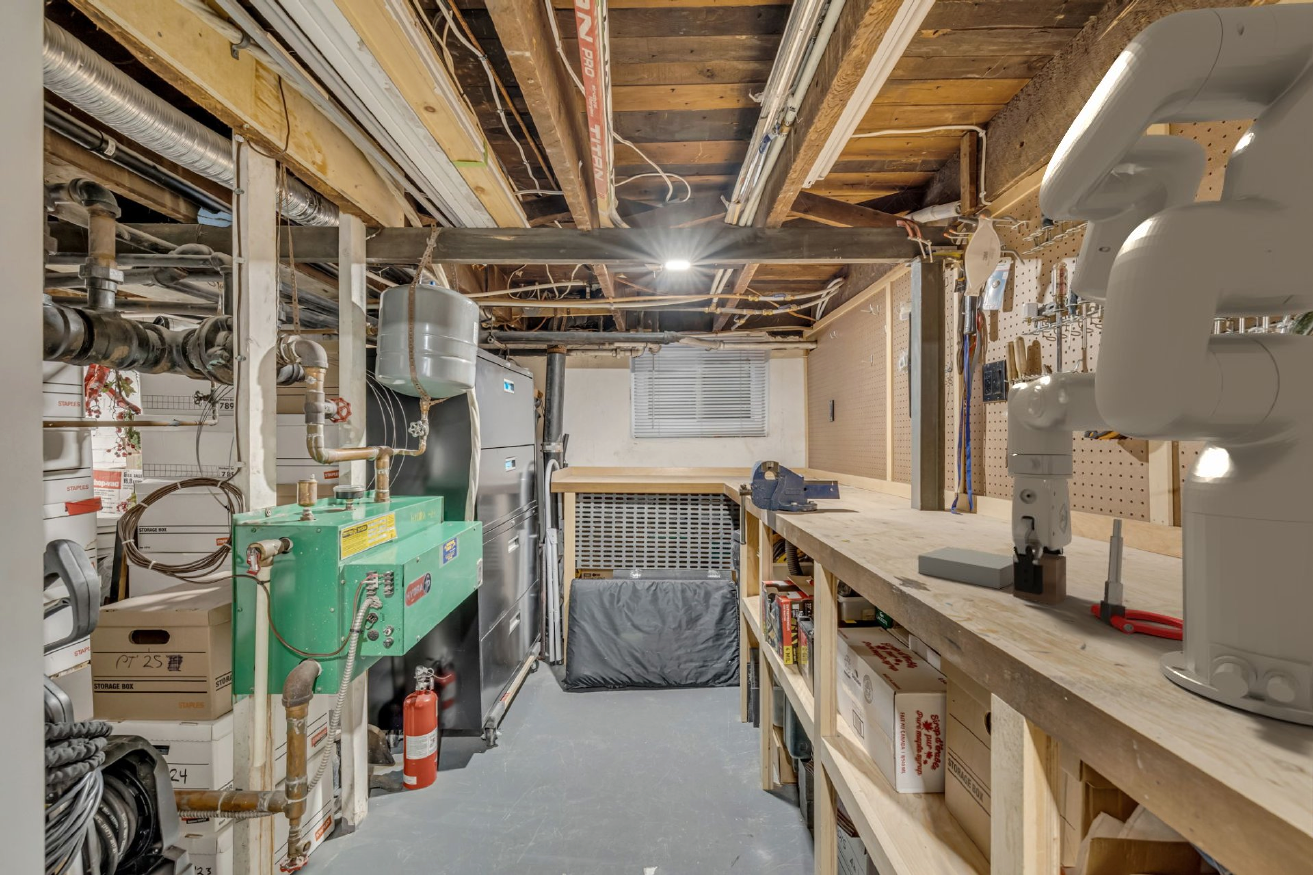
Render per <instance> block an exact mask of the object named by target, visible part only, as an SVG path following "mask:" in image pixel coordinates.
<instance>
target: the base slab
mask: <svg viewBox="0 0 1313 875" xmlns="http://www.w3.org/2000/svg"><path fill="white" fill-rule="evenodd" d="M917 556H918V559H917V560H918V562H917V563H918V569H917V570H918V571H917V572H918V574H922V575H927V576H932V577H938V578H943V579H947V580H953V581H957V582H963V583H968V584H973V585H979V586H982V587H983V586H984V587H988V588H992V587H993V588H994V589H1000V588H1001V589H1003V588H1005V587H1007V586H1008V585H1012V584H1013V583H1012V582H1013V555H1012V556H1011V555H1004V554H999V553H992V552H984V551H978V550H973V549H972V550H971V549H967V548H966V549H965V548H958V547H951V546H947V547H946V546H945V547H942V548H940V549H936V550H931V551H929V552H925V553H921V554H919V555H918V554H917ZM1002 587H1003V588H1002ZM993 588H992V589H993Z"/></svg>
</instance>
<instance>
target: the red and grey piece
mask: <svg viewBox="0 0 1313 875" xmlns="http://www.w3.org/2000/svg"><path fill="white" fill-rule="evenodd" d="M1122 526H1123V520H1122V519H1118V518H1114V519H1113V522H1112V535H1110V536H1109V552H1108V554H1109V555H1108V569H1107V571H1108V572H1107V580H1105V582H1104V590H1103V591H1104V595H1103V600H1102V599H1100V604H1093V605H1091V607H1090V609H1089V610H1090V612H1091V614H1093V615H1094V616H1096V617H1097V618H1100V620H1101V621H1103V622H1104V621H1105V622H1104V623H1107V624H1108V625H1109V626H1112V627H1113V626H1115V627H1114V628H1116V629H1119V630H1120V631H1122V632H1123V633H1125V634H1128V633H1130V635H1132V634H1134V633H1135V632H1139V633H1144V634H1148V635H1152V636H1157V637H1162V638H1167V639H1174V640H1178V641H1179V640H1180V641H1183V619H1180V618H1177V617H1174V616H1168V615H1165V614H1160V613H1156V612H1155V613H1154V612H1151V611H1144V610H1138V609H1129V608H1127V607H1126V606H1125V605H1123V598H1124V597H1123V596H1124V584H1123V583H1122V566H1123V565H1122V564H1123V550H1124V549H1123V547H1124V537H1123V536H1122ZM1131 619H1136V620H1131ZM1138 620H1143V621H1150V622H1154V621H1155V622H1154V623H1160V624H1163V623H1165V624H1164V625H1167V624H1168V625H1167V626H1170V625H1171V627H1174V626H1175V627H1174V628H1167V627H1161V626H1157V625H1152V624H1148V623H1144V622H1141V621H1138ZM1176 627H1177V629H1175V628H1176ZM1179 628H1180V629H1179Z"/></svg>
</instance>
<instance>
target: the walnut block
mask: <svg viewBox="0 0 1313 875" xmlns="http://www.w3.org/2000/svg"><path fill="white" fill-rule="evenodd" d="M1034 552H1035V551H1033V554H1034ZM1012 557H1013V583H1012V597H1015V596H1016V597H1015V598H1020V599H1024V598H1026V599H1025V600H1030V601H1034V600H1036V601H1035V602H1041V603H1044V602H1045V603H1046V604H1050V605H1055V606H1056V605H1059V604H1060V603H1062V602H1063V601H1064V600H1066V599H1067V556H1066V555H1060V556H1059V555H1052V554H1045V553H1042V556H1041V560H1040V564H1039V565H1043V593H1042V594H1041V595H1037V594H1032V593H1027V592H1021V591H1017V590H1015V589H1014V554H1012ZM1045 603H1044V604H1045Z"/></svg>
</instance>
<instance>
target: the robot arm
mask: <svg viewBox="0 0 1313 875" xmlns="http://www.w3.org/2000/svg"><path fill="white" fill-rule="evenodd" d="M1246 120H1255V121H1254V122H1253V123H1252V124H1251V125H1250V126H1249V127H1248V129H1247V130H1246V131H1245V133H1244V134H1243V135H1242V137H1240V139H1239V140H1238V141H1237V143H1236V145H1235V146H1234V148H1233V149H1232V152H1231V154H1230V155H1229V158H1228V160H1227V163H1226V165H1225V170H1224V175H1223V176H1224V177H1223V185H1222V186H1223V187H1222V191H1221V196H1220V199H1219V200H1201V201H1195V200H1196V197H1197V194H1198V191H1199V189H1200V186H1201V182H1202V180H1203V177H1204V173H1205V170H1206V166H1207V152H1206V150H1205V148H1204V146H1203V145H1202V144H1201V143H1199V142H1198V141H1197V140H1194V139H1192V138H1190V137H1185V136H1181V135H1176V134H1175V135H1173V134H1152V133H1151V134H1144V133H1145V132H1146V131H1147V130H1148V129H1149V128H1150V127H1151V126H1152V125H1162V124H1163V125H1165V124H1193V123H1194V124H1198V123H1201V124H1202V123H1209V122H1211V123H1214V122H1230V121H1231V122H1233V121H1246ZM1038 206H1039V208H1040V211H1041V214H1043V216H1044V217H1045V218H1047V219H1048V220H1050V221H1051V220H1052V221H1056V222H1057V221H1058V222H1064V221H1065V222H1067V221H1069V222H1070V221H1072V222H1073V221H1087V225H1086V228H1085V232H1084V236H1083V239H1082V242H1081V246H1080V250H1079V254H1078V258H1077V260H1076V265H1075V267H1074V271H1073V273H1072V277H1071V280H1070V289H1071V291H1072V292H1073V294H1074V295H1076V296H1077V297H1079V298H1081V299H1083V300H1084V301H1088V302H1090V303H1094V304H1096V305H1099V306H1101V307H1103V308H1104V309H1103V316H1102V325H1101V332H1100V339H1099V346H1098V353H1097V354H1098V355H1097V363H1096V370H1095V372H1093V371H1091V372H1089V371H1088V372H1058V373H1052V374H1051V373H1050V374H1047V375H1044V376H1041V377H1039V378H1037V379H1035V380H1032V381H1024V382H1019V383H1016V384H1014V385H1012V386H1011V387H1010V388H1009V390H1008V393H1007V477H1010V478H1011V477H1012V478H1013V487H1012V488H1013V489H1012V497H1011V504H1012V505H1011V536H1012V538H1011V539H1012V542H1013V543H1014V546H1013V551H1014V554H1013V555H1014V589H1015V590H1017V591H1021V592H1027V593H1032V594H1037V595H1041V594H1042V593H1043V565H1039V564H1040V560H1041V556H1042V553H1045V554H1052V555H1059V556H1064V547H1065V546H1068V545H1070V544H1071V542H1072V539H1073V538H1072V534H1073V533H1072V519H1071V518H1072V517H1071V515H1072V514H1071V501H1070V490H1069V485H1068V484H1069V483H1068V480H1069V479H1071V480H1073V479H1074V473H1073V472H1074V468H1073V465H1074V460H1073V459H1074V458H1073V457H1074V456H1073V455H1074V451H1073V450H1074V449H1073V447H1074V444H1073V443H1074V439H1073V438H1074V437H1073V436H1074V432H1086V431H1093V432H1095V431H1101V432H1102V431H1105V432H1109V431H1110V432H1115V433H1116V434H1119V435H1121V436H1124V437H1127V438H1130V439H1135V440H1142V441H1159V442H1161V441H1163V442H1179V441H1180V442H1204V445H1203V447H1202V448H1201V450H1200V451H1199V453H1198V454H1197V456H1196V457H1195V458H1194V460H1193V462H1192V463H1191V465H1190V467H1189V469H1188V471H1187V472H1186V475H1185V479H1184V481H1183V485H1182V492H1181V544H1182V545H1181V548H1182V549H1181V552H1182V553H1181V554H1182V555H1181V556H1182V558H1181V560H1182V562H1181V563H1182V566H1181V567H1182V569H1181V570H1182V574H1181V577H1182V579H1181V580H1182V581H1181V582H1182V586H1181V587H1182V592H1181V594H1182V620H1183V640H1182V650H1175V651H1169V652H1165V653H1163V654H1161V655H1160V657H1159V669H1160V671H1161V673H1162V674H1163V675H1165V676H1166V677H1167V678H1168V679H1169V680H1171V681H1172V682H1174V683H1175V684H1177V685H1179V686H1181V687H1182V688H1185V689H1186V690H1189V691H1191V692H1192V693H1195V694H1198V695H1201V696H1203V697H1205V698H1208V699H1211V700H1213V701H1217V702H1219V703H1221V704H1225V705H1228V706H1231V707H1233V708H1237V709H1241V710H1244V711H1246V712H1251V713H1254V714H1259V715H1261V716H1266V717H1269V718H1273V719H1278V720H1282V721H1285V722H1286V721H1287V722H1292V723H1296V724H1302V725H1307V726H1312V727H1313V335H1308V334H1307V335H1306V334H1301V333H1287V332H1226V333H1225V332H1223V333H1211V332H1212V330H1213V326H1214V322H1215V318H1216V319H1217V318H1269V317H1283V316H1293V315H1300V314H1305V313H1309V312H1313V1H1312V2H1310V1H1309V2H1308V1H1307V2H1290V3H1274V4H1262V5H1252V6H1251V5H1250V6H1247V5H1246V6H1228V7H1206V8H1205V7H1204V8H1197V9H1196V8H1195V9H1188V10H1181V11H1177V12H1173V13H1170V14H1168V15H1166V16H1163V17H1161V18H1158V19H1157V20H1155V21H1154V22H1152V23H1150V24H1149V25H1148V26H1146V27H1145V28H1144V29H1142V30H1141V31H1140V32H1139V33H1138V34H1137V35H1136V36H1134V37H1133V38H1132V39H1131V41H1130V42H1129V43H1127V45H1126V46H1125V47H1124V49H1123V50H1122V51H1121V53H1120V54H1119V55H1118V57H1117V58H1116V60H1114V61H1113V63H1112V65H1111V66H1110V68H1109V69H1108V71H1107V72H1106V74H1105V75H1104V76H1103V78H1102V79H1101V81H1100V82H1099V84H1098V85H1097V87H1096V89H1094V91H1093V93H1092V94H1091V96H1090V98H1089V99H1088V100H1087V102H1086V103H1085V105H1084V106H1083V107H1082V110H1081V111H1080V112H1079V113H1078V115H1077V116H1076V118H1075V119H1074V121H1073V122H1072V124H1071V126H1070V127H1069V129H1068V130H1067V132H1066V133H1065V136H1064V137H1063V139H1062V140H1061V142H1060V144H1059V145H1058V146H1057V149H1056V150H1055V152H1054V154H1053V156H1052V158H1051V159H1050V161H1049V163H1048V165H1047V168H1046V170H1045V173H1044V175H1043V177H1042V181H1041V184H1040V188H1039V193H1038ZM1033 552H1034V554H1033Z"/></svg>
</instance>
